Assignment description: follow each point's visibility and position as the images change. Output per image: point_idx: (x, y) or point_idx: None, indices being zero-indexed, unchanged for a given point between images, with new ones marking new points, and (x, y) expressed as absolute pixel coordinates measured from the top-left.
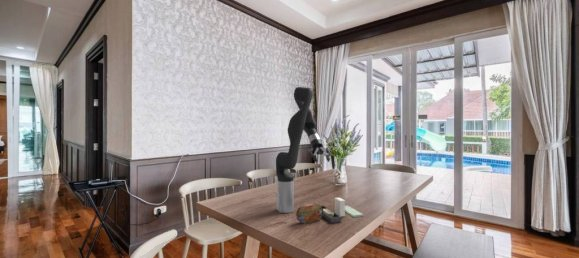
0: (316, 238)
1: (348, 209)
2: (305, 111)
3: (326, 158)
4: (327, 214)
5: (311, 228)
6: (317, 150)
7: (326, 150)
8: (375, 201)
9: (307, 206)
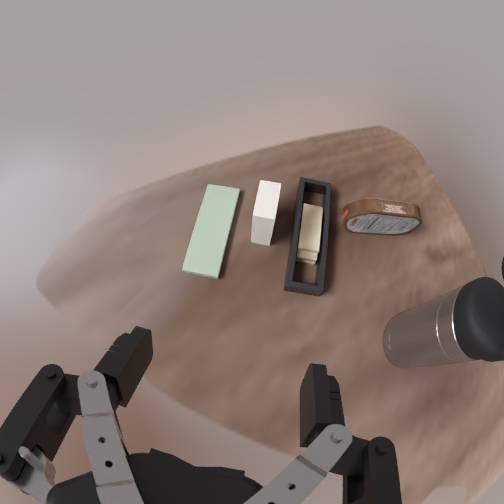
0: (388, 159)
1: (213, 233)
2: None
3: (132, 393)
4: (326, 208)
5: (384, 193)
6: (253, 501)
7: (42, 454)
8: (60, 268)
9: (400, 204)
